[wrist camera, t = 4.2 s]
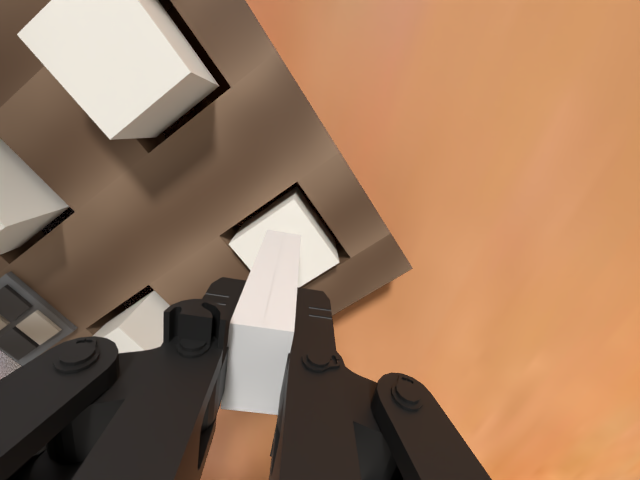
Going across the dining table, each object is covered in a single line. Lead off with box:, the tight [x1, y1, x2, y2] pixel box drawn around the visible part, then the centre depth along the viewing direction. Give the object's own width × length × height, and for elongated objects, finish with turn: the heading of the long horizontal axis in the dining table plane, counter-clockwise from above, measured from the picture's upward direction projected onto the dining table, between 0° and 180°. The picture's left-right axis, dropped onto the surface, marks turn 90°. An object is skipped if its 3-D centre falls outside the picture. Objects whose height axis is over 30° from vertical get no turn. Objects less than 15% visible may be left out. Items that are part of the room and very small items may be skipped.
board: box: [0, 0, 413, 366], centre depth 17 cm, size 20×22×4 cm
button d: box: [229, 187, 340, 287], centre depth 17 cm, size 4×4×4 cm
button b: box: [93, 290, 170, 353], centre depth 17 cm, size 4×4×4 cm
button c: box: [17, 0, 219, 140], centre depth 12 cm, size 4×4×4 cm
